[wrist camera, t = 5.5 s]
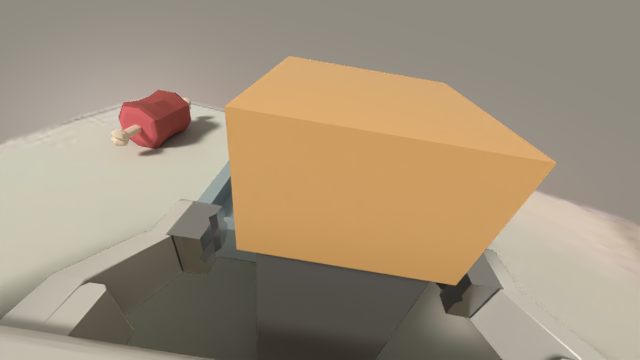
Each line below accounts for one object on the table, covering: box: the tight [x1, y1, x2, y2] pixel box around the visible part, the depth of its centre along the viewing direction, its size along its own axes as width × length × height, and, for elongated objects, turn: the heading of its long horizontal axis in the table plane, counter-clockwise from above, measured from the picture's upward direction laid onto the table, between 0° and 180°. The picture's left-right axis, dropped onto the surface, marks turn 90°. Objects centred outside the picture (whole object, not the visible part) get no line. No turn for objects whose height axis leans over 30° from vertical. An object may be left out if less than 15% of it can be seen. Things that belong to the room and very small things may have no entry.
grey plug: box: [225, 56, 557, 360], centre depth 9 cm, size 5×5×14 cm
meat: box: [111, 90, 192, 148], centre depth 28 cm, size 12×5×5 cm, turn 172°
